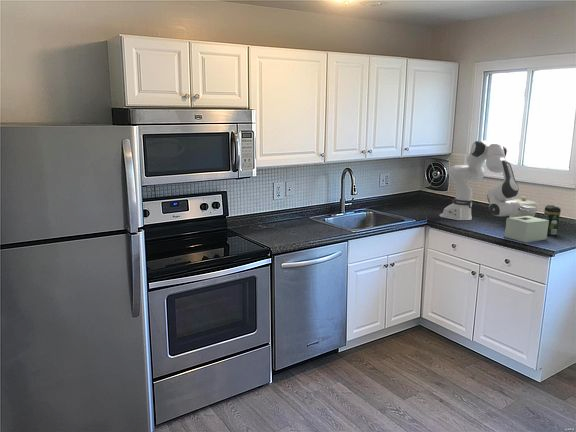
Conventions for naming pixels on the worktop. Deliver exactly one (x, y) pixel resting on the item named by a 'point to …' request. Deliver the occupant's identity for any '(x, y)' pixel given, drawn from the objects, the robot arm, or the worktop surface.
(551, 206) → the coffee jar
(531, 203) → the canister
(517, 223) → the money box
